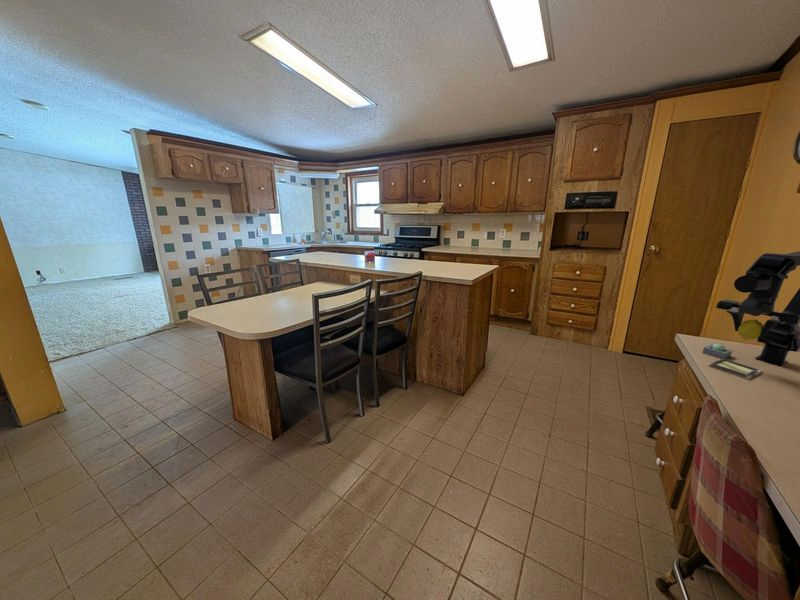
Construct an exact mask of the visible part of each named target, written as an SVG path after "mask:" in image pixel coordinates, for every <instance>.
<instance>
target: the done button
mask: <svg viewBox="0 0 800 600" xmlns="http://www.w3.org/2000/svg"><path fill="white" fill-rule="evenodd" d="M712 345H713V348H712V349H715V350H718V351H721V352H723V351H724V348H725V349H726V345H724V344H719V343H713V344H712Z"/></svg>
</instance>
